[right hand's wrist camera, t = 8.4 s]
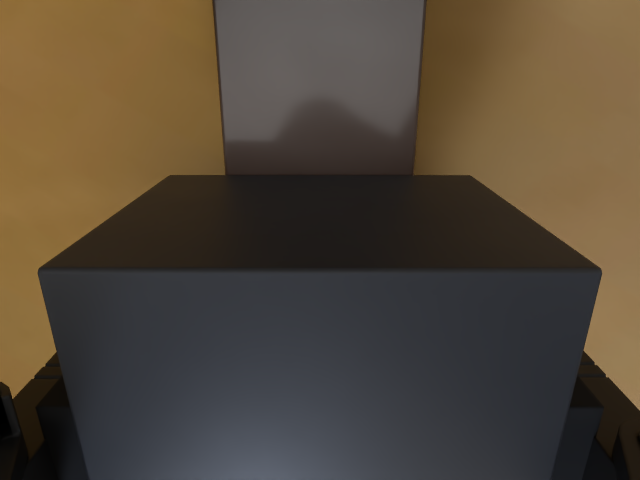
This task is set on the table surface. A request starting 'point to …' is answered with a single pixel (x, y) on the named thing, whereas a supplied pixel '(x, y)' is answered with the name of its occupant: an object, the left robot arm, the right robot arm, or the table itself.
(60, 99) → the table surface
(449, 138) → the table surface
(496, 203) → the cap block
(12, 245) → the table surface
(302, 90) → the dark wooden beam
